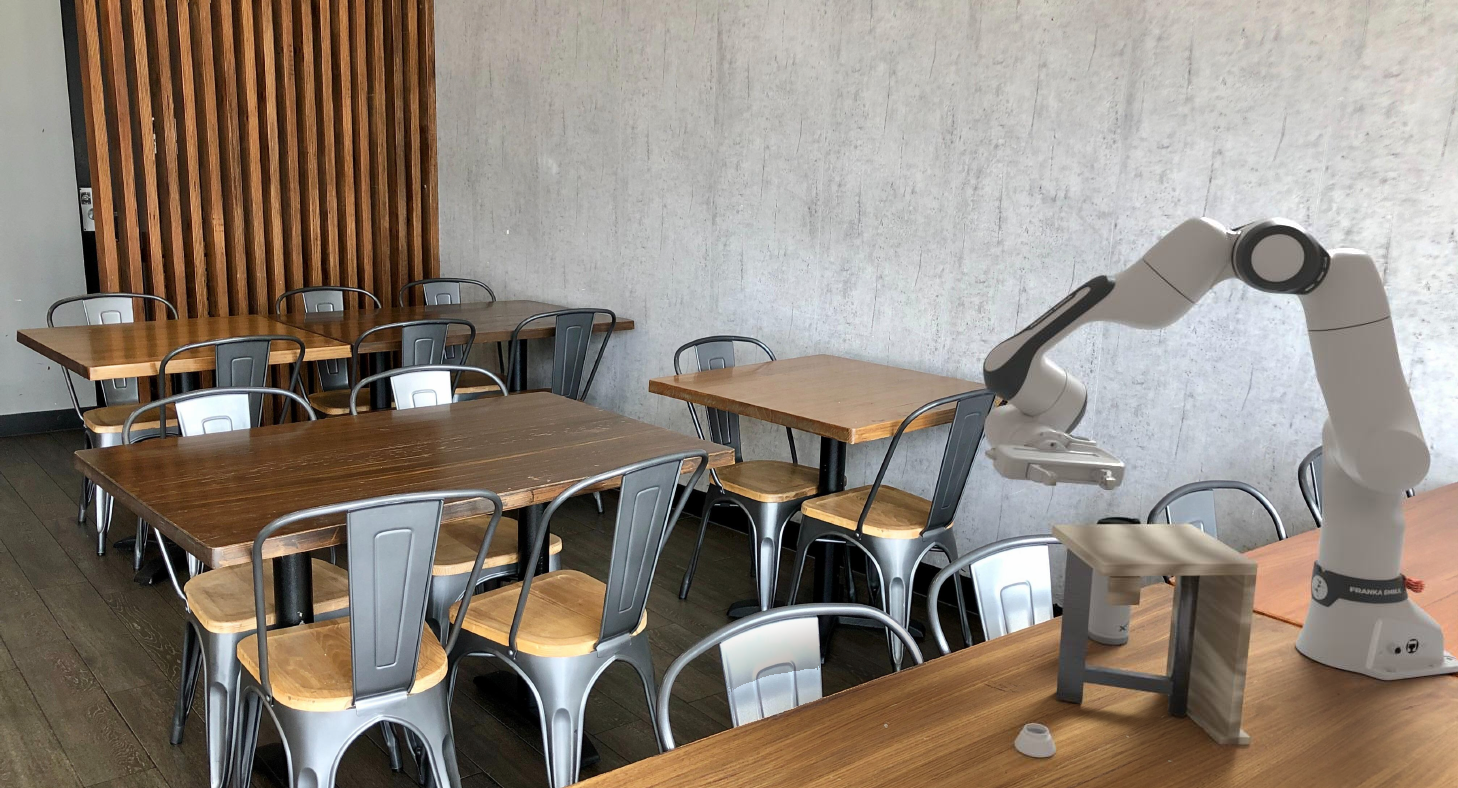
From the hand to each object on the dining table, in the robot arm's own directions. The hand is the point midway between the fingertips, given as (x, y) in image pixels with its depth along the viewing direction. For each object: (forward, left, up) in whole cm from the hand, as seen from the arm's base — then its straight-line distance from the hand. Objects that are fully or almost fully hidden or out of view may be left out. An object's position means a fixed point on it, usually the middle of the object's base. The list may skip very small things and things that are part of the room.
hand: (1081, 483), depth 159 cm
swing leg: (-1, +15, -28) cm, 32 cm away
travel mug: (-10, -8, -28) cm, 31 cm away
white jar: (+15, +27, -28) cm, 42 cm away
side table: (-2, +18, -28) cm, 33 cm away
